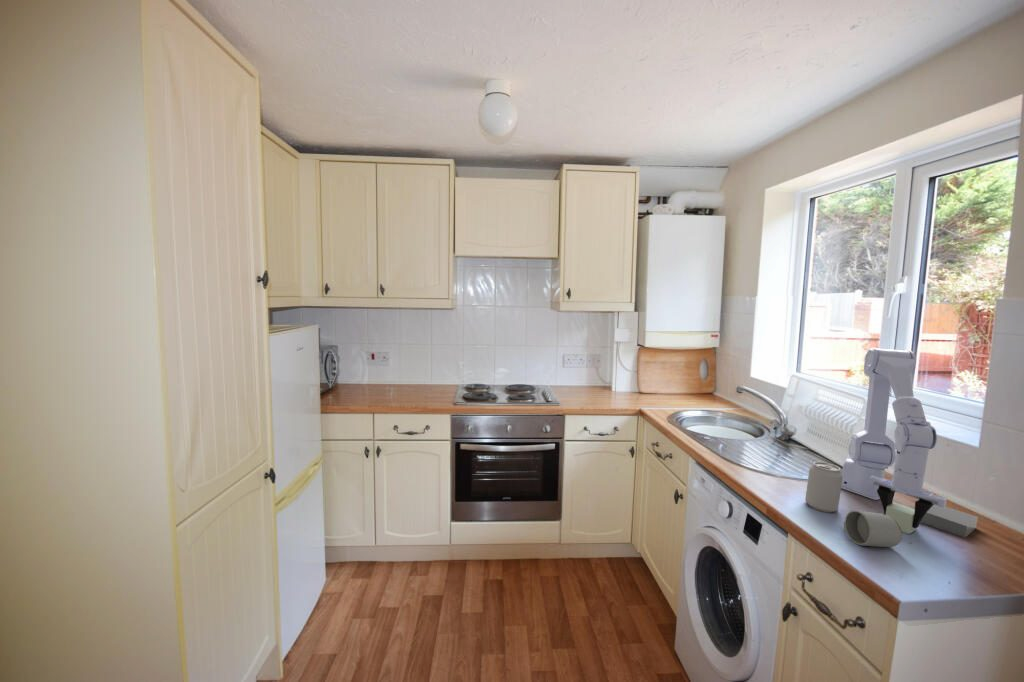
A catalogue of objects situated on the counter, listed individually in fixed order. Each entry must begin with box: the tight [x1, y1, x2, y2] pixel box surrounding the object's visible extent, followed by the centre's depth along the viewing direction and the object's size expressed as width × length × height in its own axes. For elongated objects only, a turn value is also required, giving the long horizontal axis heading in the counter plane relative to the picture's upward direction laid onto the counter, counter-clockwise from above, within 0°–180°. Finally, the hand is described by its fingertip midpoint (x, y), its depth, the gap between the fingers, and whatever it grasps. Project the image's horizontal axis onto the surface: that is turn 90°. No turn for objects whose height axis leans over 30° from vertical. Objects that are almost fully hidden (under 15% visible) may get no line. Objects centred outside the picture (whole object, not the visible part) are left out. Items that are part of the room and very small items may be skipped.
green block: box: [886, 501, 917, 535], centre depth 111 cm, size 5×5×5 cm
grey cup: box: [843, 509, 903, 548], centre depth 103 cm, size 11×8×8 cm
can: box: [805, 461, 843, 513], centre depth 119 cm, size 8×8×12 cm
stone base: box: [913, 504, 979, 539], centre depth 114 cm, size 10×10×3 cm
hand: (900, 521), depth 111 cm, fingers closed on green block, 5 cm apart
